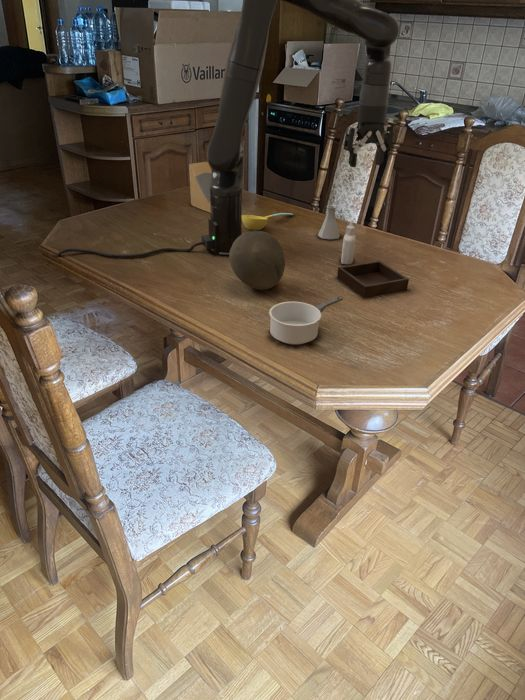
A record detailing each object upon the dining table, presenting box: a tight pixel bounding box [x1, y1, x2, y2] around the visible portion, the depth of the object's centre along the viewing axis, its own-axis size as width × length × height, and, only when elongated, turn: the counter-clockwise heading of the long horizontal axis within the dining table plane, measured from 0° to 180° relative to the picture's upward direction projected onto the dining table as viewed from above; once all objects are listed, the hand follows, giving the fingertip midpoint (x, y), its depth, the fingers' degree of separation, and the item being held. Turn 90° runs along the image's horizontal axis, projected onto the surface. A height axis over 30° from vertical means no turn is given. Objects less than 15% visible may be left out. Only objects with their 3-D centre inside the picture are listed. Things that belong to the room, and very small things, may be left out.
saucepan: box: [268, 296, 344, 345], centre depth 122 cm, size 12×20×6 cm, turn 127°
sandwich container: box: [188, 161, 212, 213], centre depth 197 cm, size 9×15×15 cm, turn 42°
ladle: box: [242, 212, 294, 231], centre depth 186 cm, size 9×26×6 cm, turn 142°
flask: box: [317, 204, 341, 240], centre depth 175 cm, size 7×7×10 cm
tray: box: [336, 260, 410, 299], centre depth 145 cm, size 14×14×3 cm
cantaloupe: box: [228, 230, 286, 291], centre depth 138 cm, size 14×14×15 cm
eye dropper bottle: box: [340, 221, 357, 266], centre depth 156 cm, size 4×6×12 cm
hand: (365, 165), depth 152 cm, fingers open, 8 cm apart
